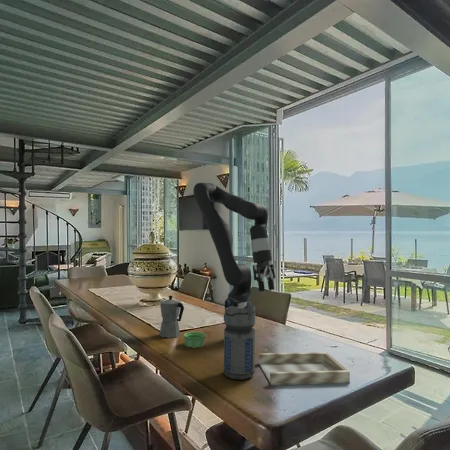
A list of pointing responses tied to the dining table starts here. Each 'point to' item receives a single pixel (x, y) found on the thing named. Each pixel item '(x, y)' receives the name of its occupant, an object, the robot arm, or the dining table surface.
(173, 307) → the coffeepot
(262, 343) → the dining table surface
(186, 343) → the ramekin
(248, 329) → the beverage bottle
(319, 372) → the cream flat rectangular tray
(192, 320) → the dining table surface
